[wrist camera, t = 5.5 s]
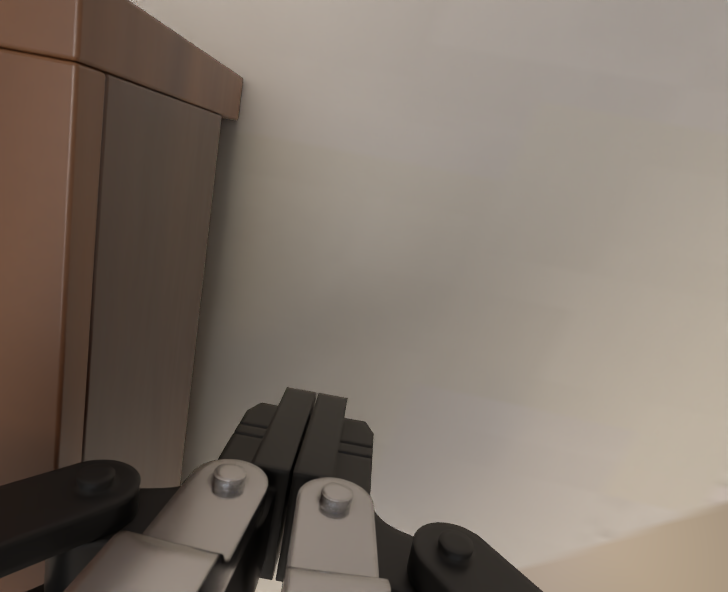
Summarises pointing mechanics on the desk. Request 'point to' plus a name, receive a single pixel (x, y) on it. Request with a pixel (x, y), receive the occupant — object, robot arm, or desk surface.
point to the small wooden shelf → (101, 236)
